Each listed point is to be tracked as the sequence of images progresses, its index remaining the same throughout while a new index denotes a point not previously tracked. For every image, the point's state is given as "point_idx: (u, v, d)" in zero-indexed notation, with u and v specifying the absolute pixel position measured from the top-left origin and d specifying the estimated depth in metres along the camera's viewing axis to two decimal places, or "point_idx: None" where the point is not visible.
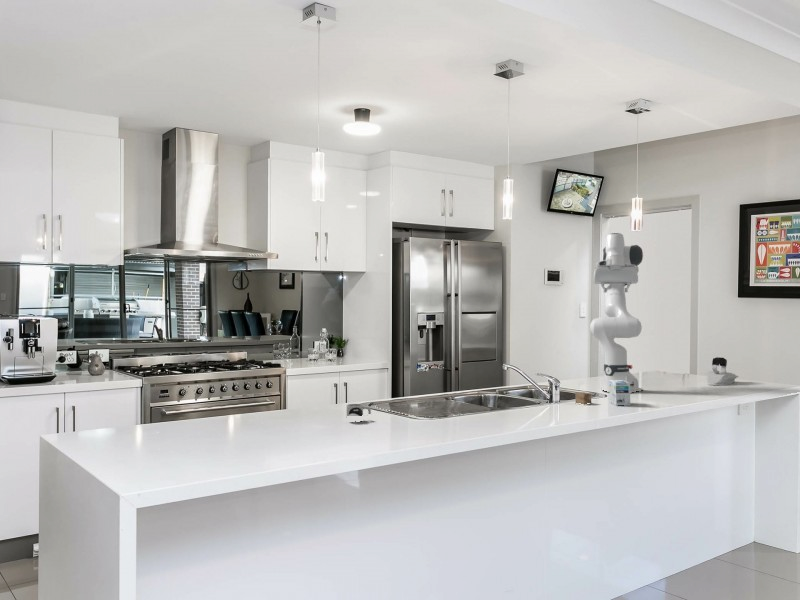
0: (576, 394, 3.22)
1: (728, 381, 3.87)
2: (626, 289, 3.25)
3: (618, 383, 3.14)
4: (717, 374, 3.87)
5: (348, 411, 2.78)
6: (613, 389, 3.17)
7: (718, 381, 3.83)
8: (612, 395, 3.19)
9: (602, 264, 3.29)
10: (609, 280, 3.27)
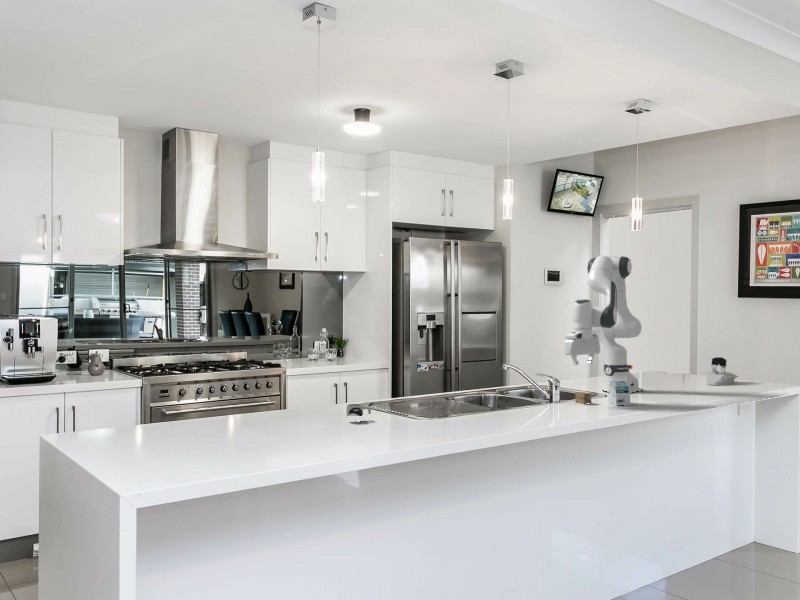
0: (576, 394, 3.22)
1: (727, 381, 3.87)
2: (591, 361, 3.23)
3: (618, 383, 3.14)
4: (716, 374, 3.87)
5: (348, 411, 2.78)
6: (613, 389, 3.17)
7: (717, 381, 3.83)
8: (612, 395, 3.19)
9: (579, 337, 3.15)
10: (581, 353, 3.18)
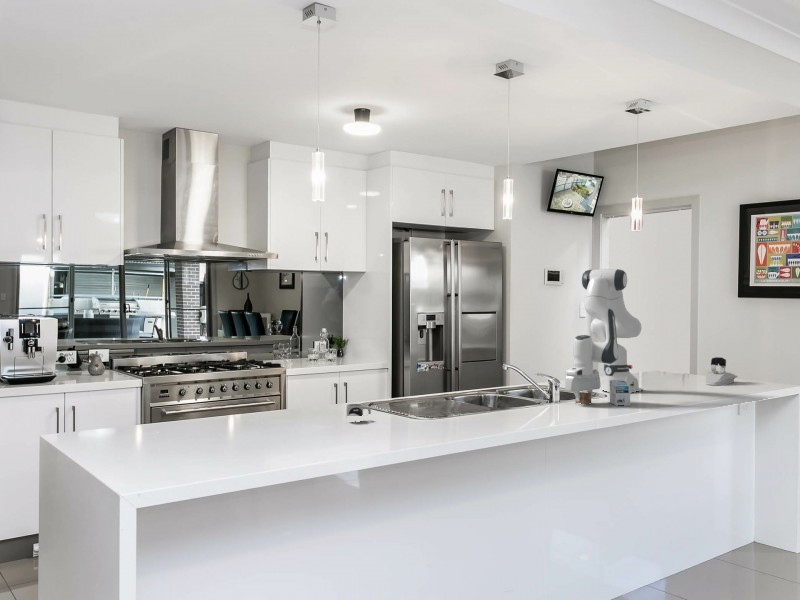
0: None
1: (727, 381, 3.88)
2: None
3: (618, 383, 3.14)
4: (716, 374, 3.87)
5: (348, 411, 2.78)
6: (613, 389, 3.17)
7: (717, 381, 3.83)
8: (612, 395, 3.19)
9: (579, 374, 3.15)
10: (581, 389, 3.18)
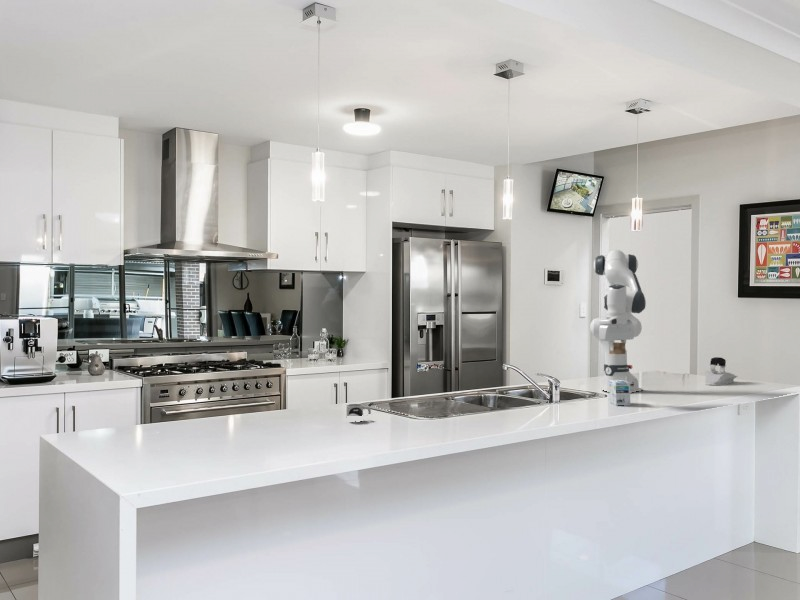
0: None
1: (726, 381, 3.88)
2: None
3: (618, 383, 3.14)
4: (715, 374, 3.87)
5: (348, 411, 2.78)
6: (613, 389, 3.17)
7: (716, 381, 3.84)
8: (612, 395, 3.19)
9: (613, 322, 3.13)
10: (616, 339, 3.16)
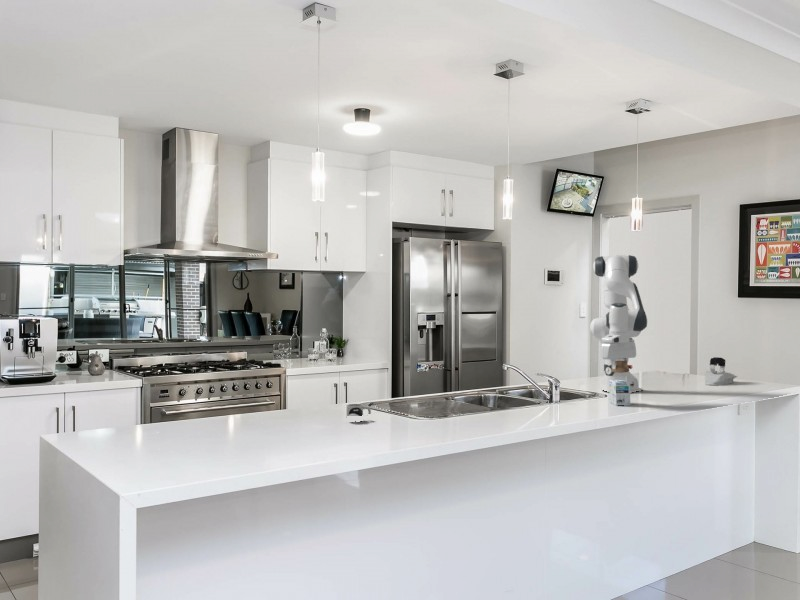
0: None
1: (726, 381, 3.88)
2: None
3: (618, 383, 3.14)
4: (714, 374, 3.88)
5: (348, 411, 2.78)
6: (613, 389, 3.17)
7: (715, 381, 3.84)
8: (612, 395, 3.19)
9: (616, 341, 3.13)
10: (618, 357, 3.16)
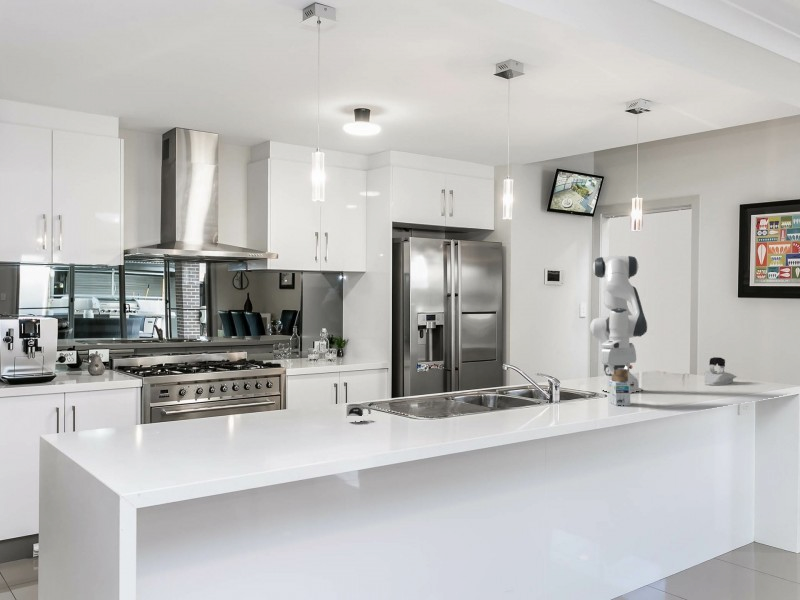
0: None
1: (725, 381, 3.88)
2: None
3: (618, 383, 3.14)
4: (714, 374, 3.88)
5: (348, 411, 2.78)
6: (613, 389, 3.17)
7: (715, 381, 3.84)
8: (612, 395, 3.19)
9: (616, 346, 3.13)
10: (618, 363, 3.16)
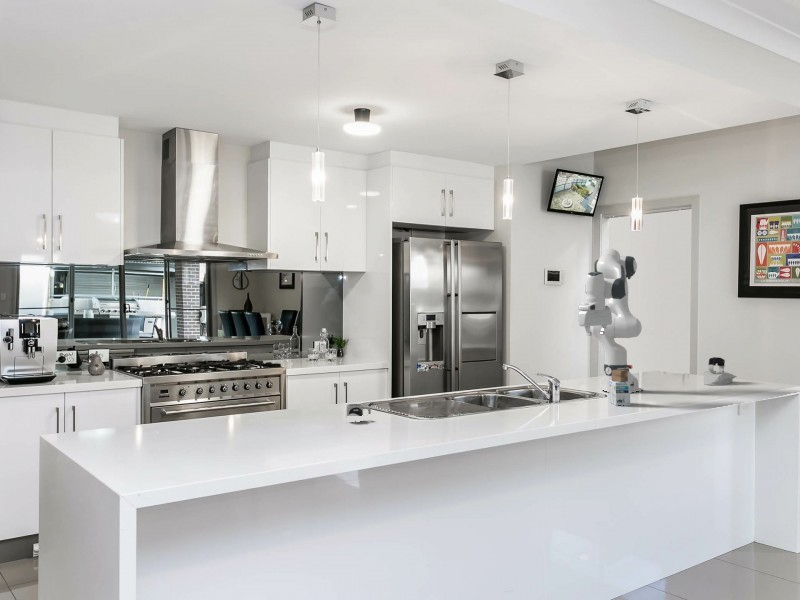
0: (612, 371, 3.19)
1: (725, 381, 3.88)
2: (603, 332, 3.31)
3: (618, 383, 3.14)
4: (713, 374, 3.88)
5: (348, 411, 2.78)
6: (613, 389, 3.17)
7: (714, 381, 3.84)
8: (612, 395, 3.19)
9: (592, 308, 3.23)
10: (594, 324, 3.26)
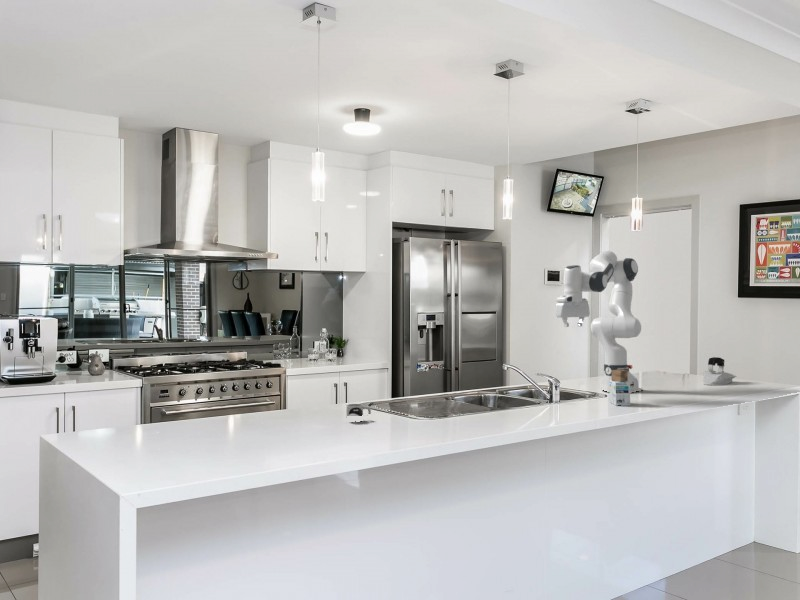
0: (612, 371, 3.19)
1: (724, 381, 3.88)
2: (581, 324, 3.41)
3: (618, 383, 3.14)
4: (713, 374, 3.88)
5: (348, 411, 2.78)
6: (613, 389, 3.17)
7: (713, 381, 3.84)
8: (612, 395, 3.19)
9: (569, 300, 3.34)
10: (571, 316, 3.36)
